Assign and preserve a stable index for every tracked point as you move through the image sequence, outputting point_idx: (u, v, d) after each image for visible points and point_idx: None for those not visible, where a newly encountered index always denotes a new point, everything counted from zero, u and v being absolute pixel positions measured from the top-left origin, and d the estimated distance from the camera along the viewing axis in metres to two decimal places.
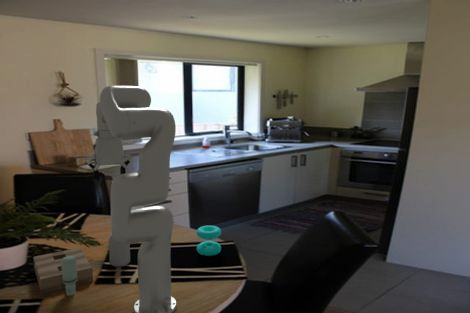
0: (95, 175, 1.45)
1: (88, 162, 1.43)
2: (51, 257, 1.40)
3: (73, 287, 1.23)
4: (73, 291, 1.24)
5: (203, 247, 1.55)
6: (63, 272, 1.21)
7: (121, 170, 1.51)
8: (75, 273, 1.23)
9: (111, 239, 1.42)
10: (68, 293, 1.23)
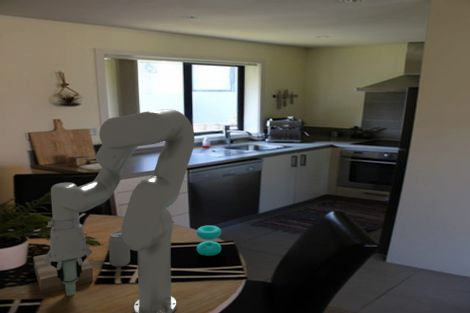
0: (59, 274, 1.21)
1: (48, 262, 1.19)
2: None
3: (73, 287, 1.23)
4: (73, 291, 1.24)
5: (203, 247, 1.55)
6: (63, 272, 1.21)
7: None
8: (75, 273, 1.23)
9: (111, 239, 1.43)
10: (68, 293, 1.23)
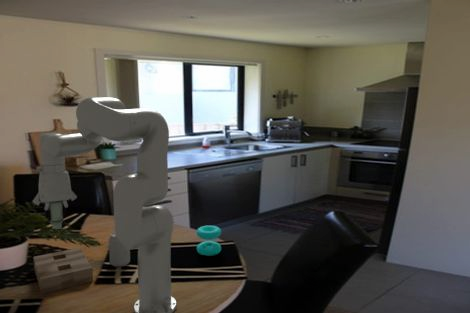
0: (46, 215, 1.35)
1: (37, 203, 1.33)
2: (51, 257, 1.40)
3: (59, 227, 1.38)
4: None
5: (203, 247, 1.55)
6: (50, 212, 1.36)
7: None
8: (61, 214, 1.37)
9: (111, 239, 1.42)
10: None
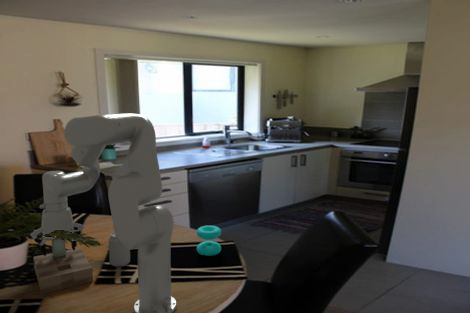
0: (42, 250, 1.36)
1: (34, 237, 1.34)
2: (51, 257, 1.40)
3: None
4: None
5: (203, 247, 1.55)
6: (53, 248, 1.38)
7: (72, 242, 1.42)
8: (63, 250, 1.39)
9: (111, 239, 1.42)
10: None
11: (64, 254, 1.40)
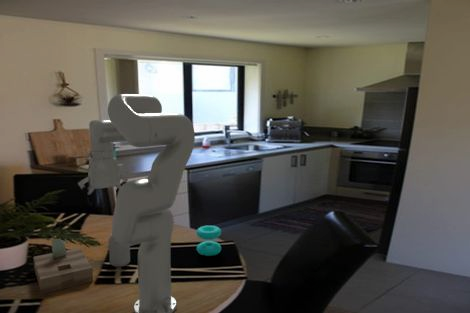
0: (89, 199, 1.34)
1: (81, 186, 1.32)
2: (51, 257, 1.40)
3: None
4: None
5: (203, 247, 1.55)
6: (53, 248, 1.38)
7: (117, 193, 1.40)
8: (63, 250, 1.39)
9: (111, 239, 1.42)
10: None
11: (64, 254, 1.40)
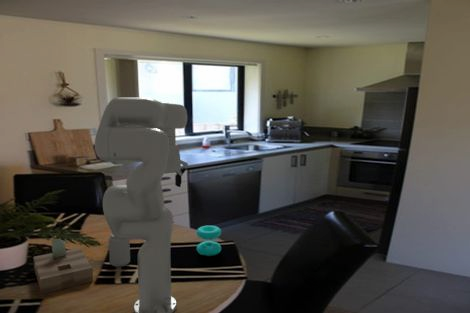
0: None
1: None
2: (51, 257, 1.40)
3: None
4: None
5: (203, 247, 1.55)
6: (53, 248, 1.38)
7: (177, 178, 1.41)
8: (63, 250, 1.39)
9: (111, 239, 1.42)
10: None
11: (64, 254, 1.40)
